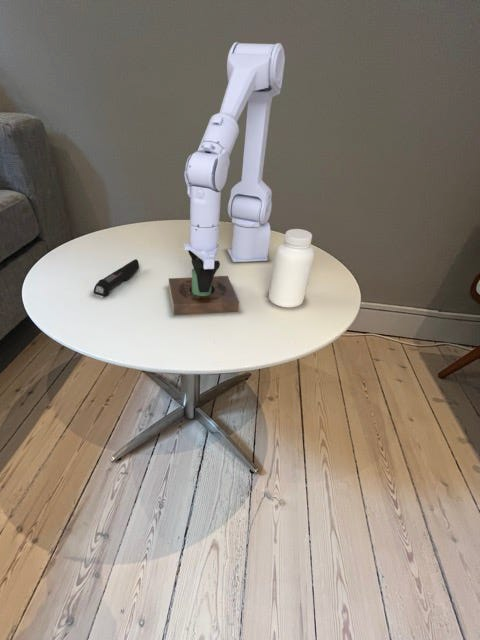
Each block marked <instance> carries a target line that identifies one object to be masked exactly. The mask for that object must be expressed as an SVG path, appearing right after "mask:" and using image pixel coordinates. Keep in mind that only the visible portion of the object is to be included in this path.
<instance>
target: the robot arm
mask: <svg viewBox="0 0 480 640" xmlns="http://www.w3.org/2000/svg"><path fill="white" fill-rule="evenodd" d="M285 63H286V56H285V49H284V46H283V44H282V43H281V42H277V43H247V42H246V43H244V42H243V43H242V42H239V41H236V42H234V43H233V44H232V45H231V47H230V49H229V51H228V55H227V60H226V73H227V86H226V89H225V92H224V96H223V99H222V102H221V106H220V109H219V112H217V113H215V114H213V115H212V116H211V117H210V119H209V121H208V124H207V127H206V129H205V131H204V134H203V135H202V138H201V141H200V144H199V145H198V149H197V150H196V151H194V152H193V153H192V154H190V155H189V156H188V158H187V160H186V163H185V169H184V172H183V173H184V182H185V184H186V188H187V197H188V198H189V200H190V201H189V206H190V207H189V242H188V243H184V244H183V249H184V251H187V252H188V254H189V256H190V258H191V266H192V268H194V269H195V272H196V275H197V283H198V289H199V292H209V290H210V287H211V283H212V280H213V277H214V276H216V273H217V271H218V270H219V269H220V266H221V262H220V261H219V260H215V258H216V256H217V254H218V251H219V247H220V246H219V231H220V215H221V201H222V200H221V199H222V197H221V196H222V190H223V189H224V187H225V184H226V182H227V180H228V179H227V178H228V174H229V168H230V163H231V160H230V156H231V153H232V151H233V148H234V146H235V143H236V142H237V138H238V136H239V133H240V127H239V124H238V121H239V119H240V117H241V115H242V113H243V111H244V110H245V108H246V105H247V113H246V123H245V135H244V146H243V148H244V149H243V159H242V170H241V180H240V181H238V182H237V183H236V184H234V185H233V187H232V188H231V190H230V195H229V197H230V198H229V200H228V204H227V214H228V217H229V218H230V219H231V223H233V229H232V230H233V231H232V240H231V248H227V252H228V254H229V257H230V258H231V261H232V262H233V263H246V262H247V263H248V262H267V261H268V260H269V259H268V255H269V248H270V242H271V235H272V234H271V225H270V222H269V219H270V216H271V212H272V207H273V201H272V196H273V192H272V189H271V188H270V187H269V186H268V184H266V183H265V182H264V181H263V173H264V165H265V156H266V149H267V140H268V133H269V132H268V131H269V123H270V115H271V114H270V113H271V106H272V103H273V102H272V101H273V98H274V97H277V96H278V95H280V94H281V89H282V85H283V78H284V70H285ZM197 256H198V257H199V258H200V259H201V260H196V258H197Z"/></svg>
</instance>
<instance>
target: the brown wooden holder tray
mask: <svg viewBox="0 0 480 640" xmlns="http://www.w3.org/2000/svg"><path fill="white" fill-rule="evenodd" d="M168 292H169V297H170V303H171V308H172V309H171V310H172V314H173V316H186V315H200V314H218V313H219V314H220V313H235V312H237V313H238V312H239V303H240V301H239V299H238V296H237V294H236V291H235V289H234V287H233V284H232V282H231V280H230V278H229V276H228V275H214V277H213V280H212V289H211V295H207V296H198V295H195V294H192V276H191V277H174V278H173V277H169V278H168Z"/></svg>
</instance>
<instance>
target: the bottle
mask: <svg viewBox="0 0 480 640" xmlns="http://www.w3.org/2000/svg"><path fill="white" fill-rule="evenodd" d="M196 260H201V259H200V258H199V257H198V256H197V258H196ZM191 277H192V294H195V295H198V296H207V295H211V289H212V283H211V287H210V290H209V292H199V289H198V283H197V275H196V272H195V269H194V267H192V269H191Z"/></svg>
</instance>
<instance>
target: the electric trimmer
mask: <svg viewBox="0 0 480 640" xmlns="http://www.w3.org/2000/svg"><path fill="white" fill-rule="evenodd" d="M138 270H140V264H139V261H138V259H136V258H135V259H133V260H131V261H129V262H128V263H126V264H125V265H123V266H122V267H120V268H118V269H117V270H115V271H113V272H111V273H109V274H108V275H107V276H105V277H104V278H102V279H100V280H98V282H96V284H95V285H94V288H93V294H94V295H95V296H97V297H100V298H104V297H107V296H109V294H110V291H111V290H113V289H114V288H115V287H117V286H118V285H119V284H121V283H122V282H125V281H127V282H128V281H129V279H130V278H132V277H133V275H134V274H135V273H136V272H138Z"/></svg>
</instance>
